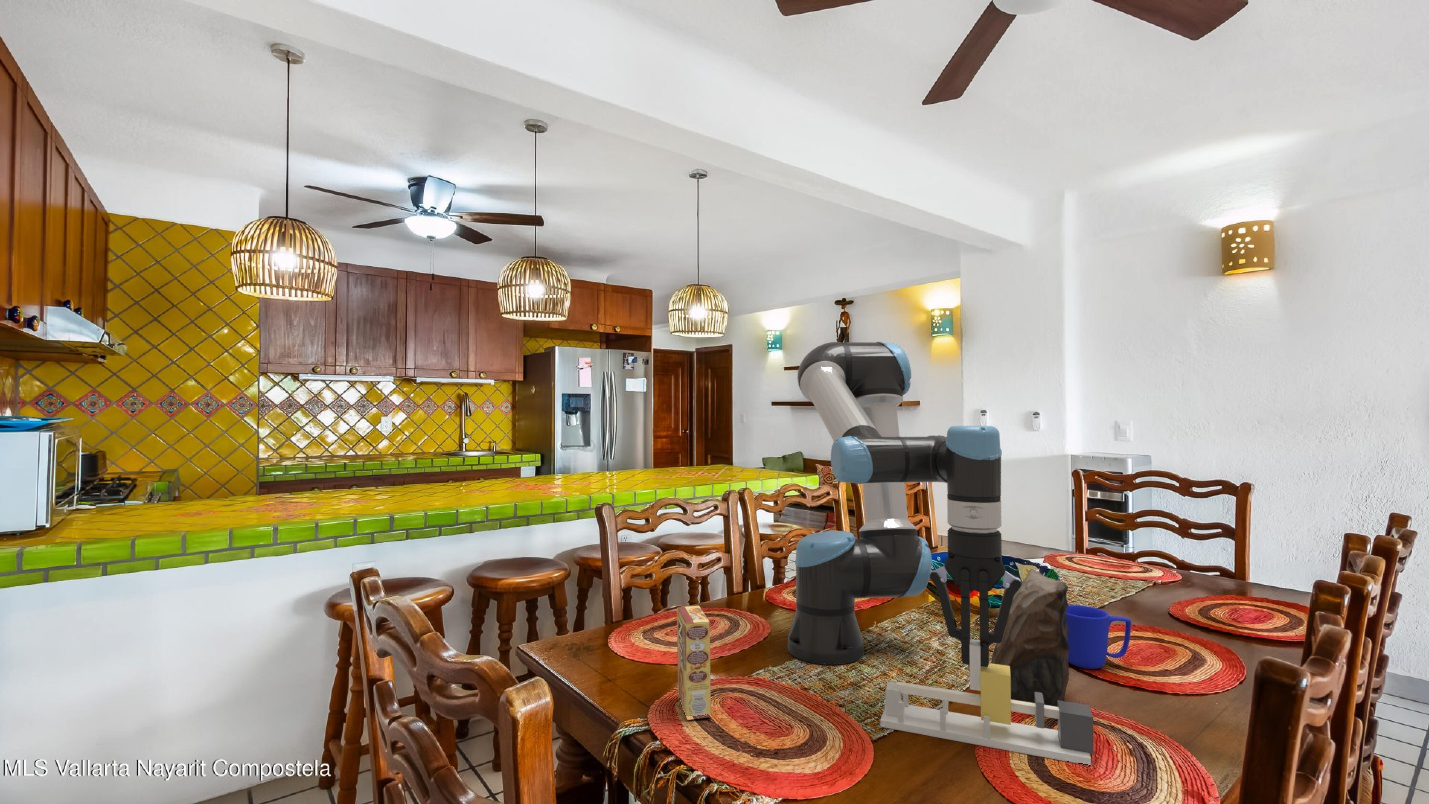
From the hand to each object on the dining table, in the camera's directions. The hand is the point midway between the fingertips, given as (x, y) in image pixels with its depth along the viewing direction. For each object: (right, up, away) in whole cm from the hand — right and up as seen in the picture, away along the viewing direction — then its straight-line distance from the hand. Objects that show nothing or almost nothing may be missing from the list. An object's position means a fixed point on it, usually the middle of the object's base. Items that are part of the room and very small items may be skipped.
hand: (975, 686), depth 96 cm
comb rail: (+1, -7, 0) cm, 7 cm away
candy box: (-43, -8, +8) cm, 44 cm away
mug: (+33, -8, +26) cm, 43 cm away
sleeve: (+3, -4, -1) cm, 5 cm away
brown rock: (+14, -8, +14) cm, 21 cm away
